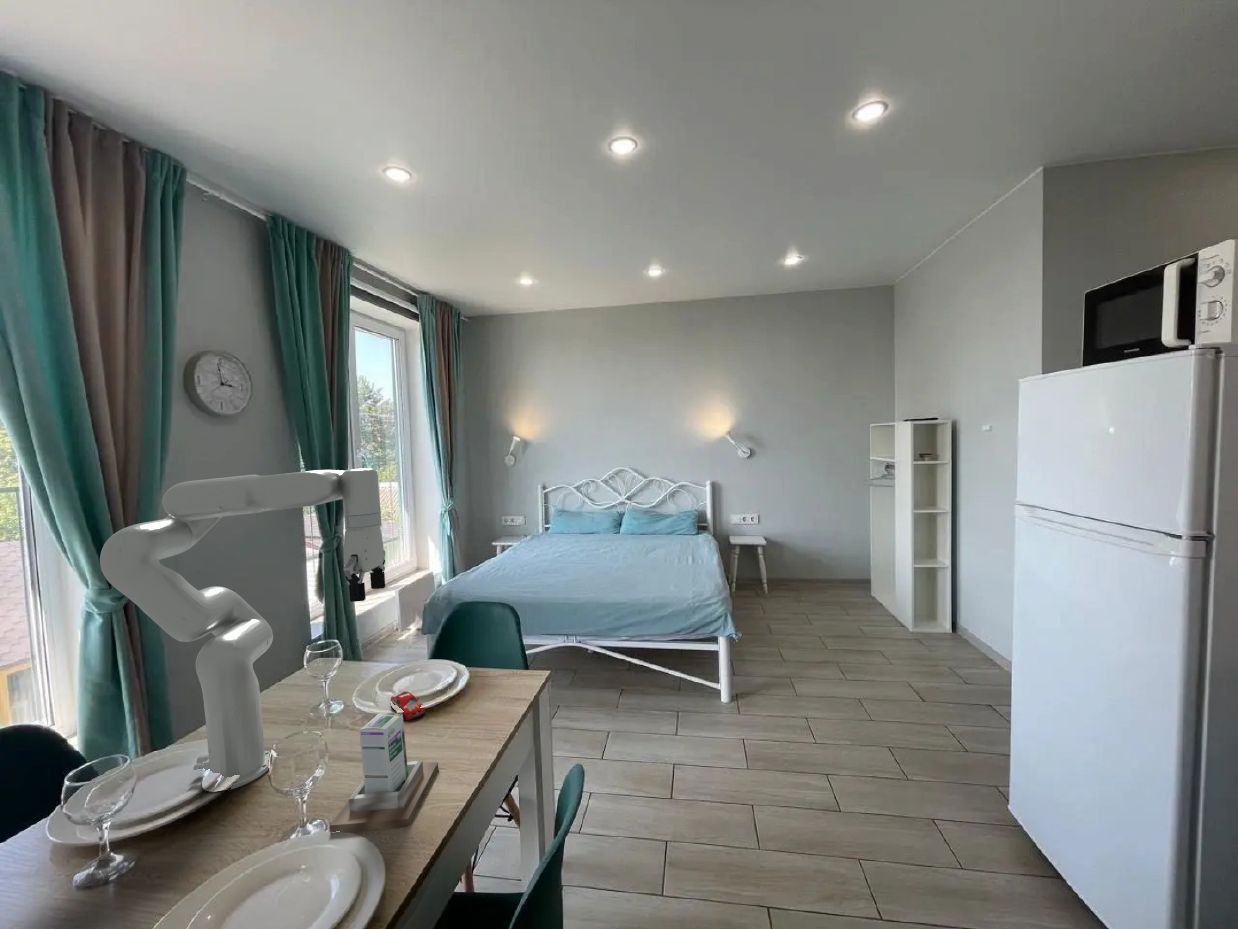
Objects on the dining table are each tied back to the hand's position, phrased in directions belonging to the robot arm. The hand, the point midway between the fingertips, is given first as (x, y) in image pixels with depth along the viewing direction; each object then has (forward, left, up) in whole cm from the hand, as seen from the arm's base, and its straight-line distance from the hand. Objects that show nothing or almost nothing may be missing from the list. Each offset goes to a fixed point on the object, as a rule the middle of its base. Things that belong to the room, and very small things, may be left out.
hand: (368, 594), depth 112 cm
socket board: (+10, -18, -36) cm, 42 cm away
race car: (0, +16, -37) cm, 40 cm away
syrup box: (+10, -18, -35) cm, 41 cm away
